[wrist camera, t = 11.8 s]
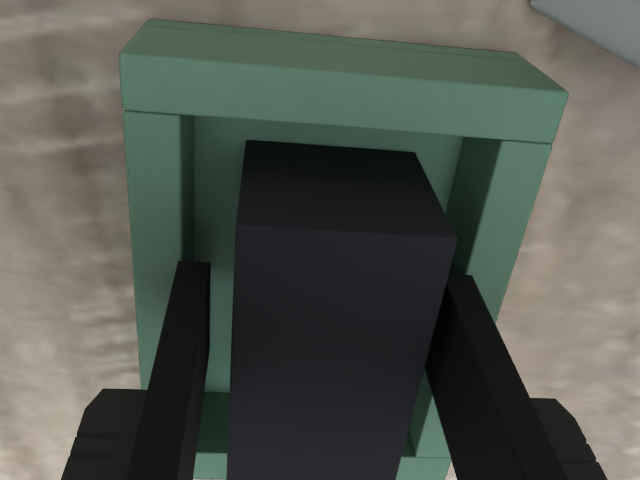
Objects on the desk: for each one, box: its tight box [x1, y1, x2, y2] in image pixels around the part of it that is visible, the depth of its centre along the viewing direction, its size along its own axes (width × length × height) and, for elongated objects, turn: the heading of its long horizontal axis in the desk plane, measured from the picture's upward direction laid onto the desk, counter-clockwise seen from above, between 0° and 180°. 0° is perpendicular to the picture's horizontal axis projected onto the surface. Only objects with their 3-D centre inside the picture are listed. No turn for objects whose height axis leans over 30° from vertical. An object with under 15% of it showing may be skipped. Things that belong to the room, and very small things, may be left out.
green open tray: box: [119, 19, 569, 480], centre depth 17 cm, size 13×9×3 cm
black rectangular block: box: [226, 140, 457, 480], centre depth 16 cm, size 8×4×4 cm, turn 174°
